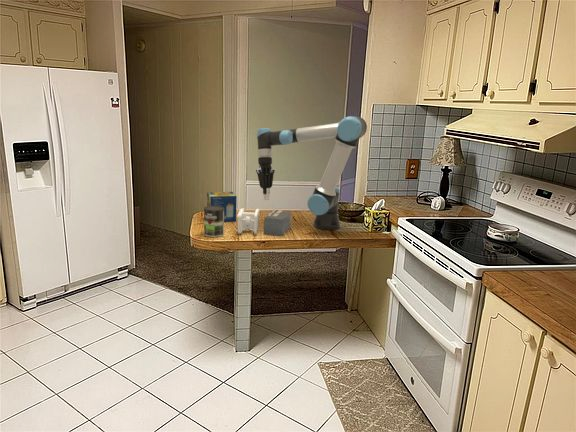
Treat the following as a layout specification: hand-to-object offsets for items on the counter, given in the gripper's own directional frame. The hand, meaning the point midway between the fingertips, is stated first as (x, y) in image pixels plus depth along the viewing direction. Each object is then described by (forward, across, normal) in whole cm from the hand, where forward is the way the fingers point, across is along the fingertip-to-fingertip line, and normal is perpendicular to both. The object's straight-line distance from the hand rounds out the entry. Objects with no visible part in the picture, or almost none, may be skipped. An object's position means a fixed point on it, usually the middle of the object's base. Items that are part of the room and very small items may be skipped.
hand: (266, 200), depth 243 cm
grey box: (+17, -1, +6) cm, 18 cm away
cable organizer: (+17, +12, -3) cm, 21 cm away
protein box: (+11, +8, -29) cm, 32 cm away
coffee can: (+17, +29, -12) cm, 35 cm away
